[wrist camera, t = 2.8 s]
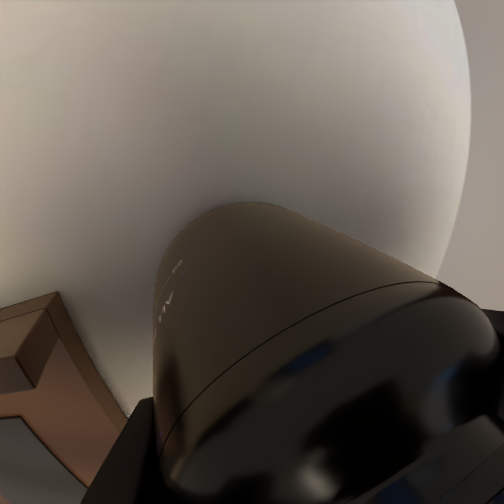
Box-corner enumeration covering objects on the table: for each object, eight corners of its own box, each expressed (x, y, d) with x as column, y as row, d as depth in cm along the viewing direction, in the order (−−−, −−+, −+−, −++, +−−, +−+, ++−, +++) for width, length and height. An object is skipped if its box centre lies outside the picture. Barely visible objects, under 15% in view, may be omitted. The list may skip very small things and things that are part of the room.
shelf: (178, 484, 15) (190, 542, 10) (2, 491, 12) (-6, 532, 7) (58, 290, 10) (14, 355, 6) (-111, 346, 7) (-142, 383, 3)
